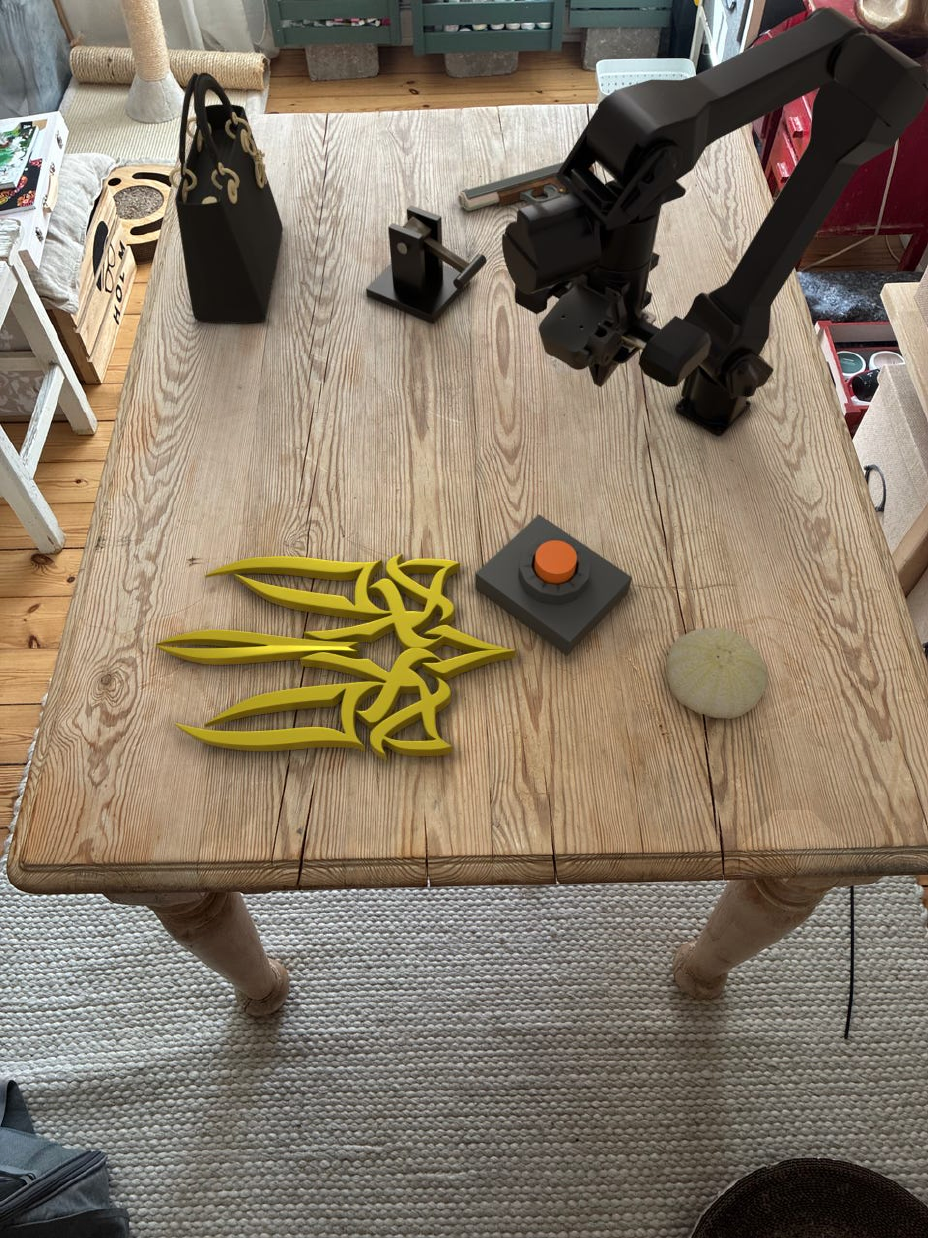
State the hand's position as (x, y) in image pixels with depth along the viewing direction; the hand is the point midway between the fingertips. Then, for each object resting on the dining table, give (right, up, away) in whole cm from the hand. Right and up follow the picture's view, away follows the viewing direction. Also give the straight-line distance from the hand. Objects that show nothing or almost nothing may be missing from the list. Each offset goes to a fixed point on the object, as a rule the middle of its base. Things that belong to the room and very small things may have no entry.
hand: (600, 383), depth 94 cm
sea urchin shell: (+10, -30, -5) cm, 32 cm away
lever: (-17, +20, +20) cm, 33 cm away
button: (-5, -19, -3) cm, 19 cm away
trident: (-26, -27, -3) cm, 38 cm away
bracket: (-20, +18, +25) cm, 37 cm away
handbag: (-43, +21, +27) cm, 55 cm away
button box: (-5, -21, +1) cm, 21 cm away
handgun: (-3, +33, +34) cm, 48 cm away
